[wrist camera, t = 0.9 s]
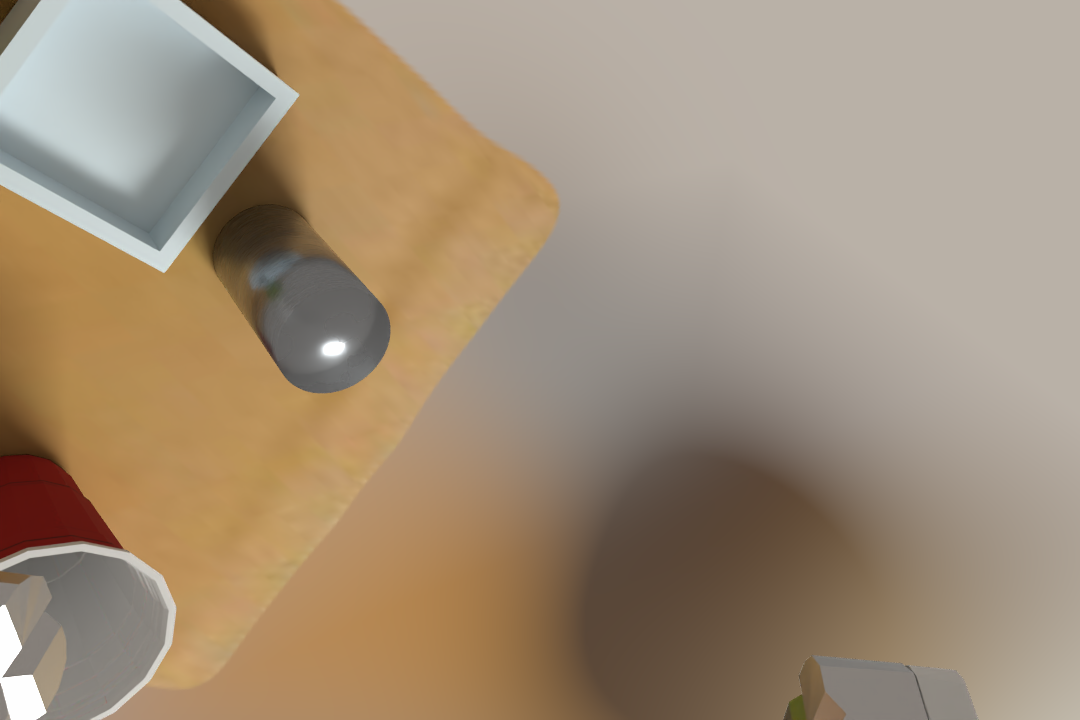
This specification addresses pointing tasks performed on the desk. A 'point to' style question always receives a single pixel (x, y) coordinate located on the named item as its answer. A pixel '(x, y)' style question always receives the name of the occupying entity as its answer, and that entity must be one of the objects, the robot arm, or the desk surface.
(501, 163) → the desk surface
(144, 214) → the tray
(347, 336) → the tin
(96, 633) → the plastic cup
